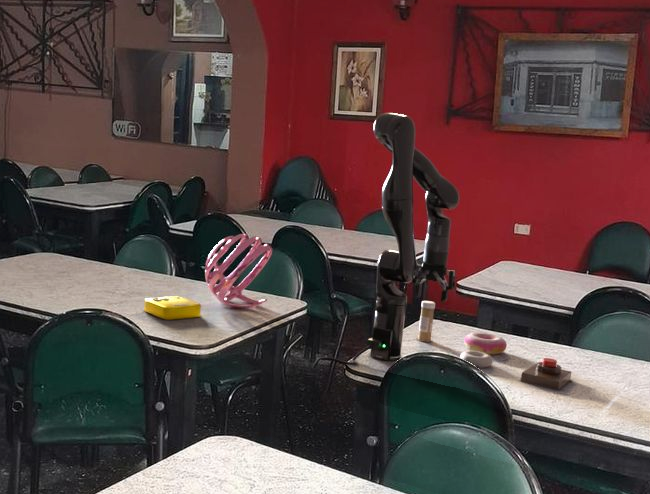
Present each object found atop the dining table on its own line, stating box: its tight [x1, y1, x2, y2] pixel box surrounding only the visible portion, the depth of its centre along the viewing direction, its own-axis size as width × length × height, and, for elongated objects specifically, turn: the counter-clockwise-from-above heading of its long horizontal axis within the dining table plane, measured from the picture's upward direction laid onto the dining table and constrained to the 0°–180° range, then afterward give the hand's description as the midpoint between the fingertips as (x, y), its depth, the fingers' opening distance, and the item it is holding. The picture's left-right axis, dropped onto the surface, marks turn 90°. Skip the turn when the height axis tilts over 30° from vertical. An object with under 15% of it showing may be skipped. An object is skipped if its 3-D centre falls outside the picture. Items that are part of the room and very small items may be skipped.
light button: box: [542, 357, 558, 368], centre depth 255 cm, size 4×4×2 cm
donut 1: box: [464, 332, 507, 356], centre depth 284 cm, size 14×13×5 cm
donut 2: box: [459, 350, 493, 369], centre depth 266 cm, size 10×4×10 cm
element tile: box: [144, 295, 202, 321], centre depth 296 cm, size 15×15×5 cm
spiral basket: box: [204, 233, 274, 309], centre depth 318 cm, size 28×28×27 cm
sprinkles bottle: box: [417, 300, 436, 343], centre depth 290 cm, size 5×5×14 cm
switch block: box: [520, 361, 572, 391], centre depth 254 cm, size 14×11×4 cm
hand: (430, 299), depth 271 cm, fingers open, 8 cm apart
